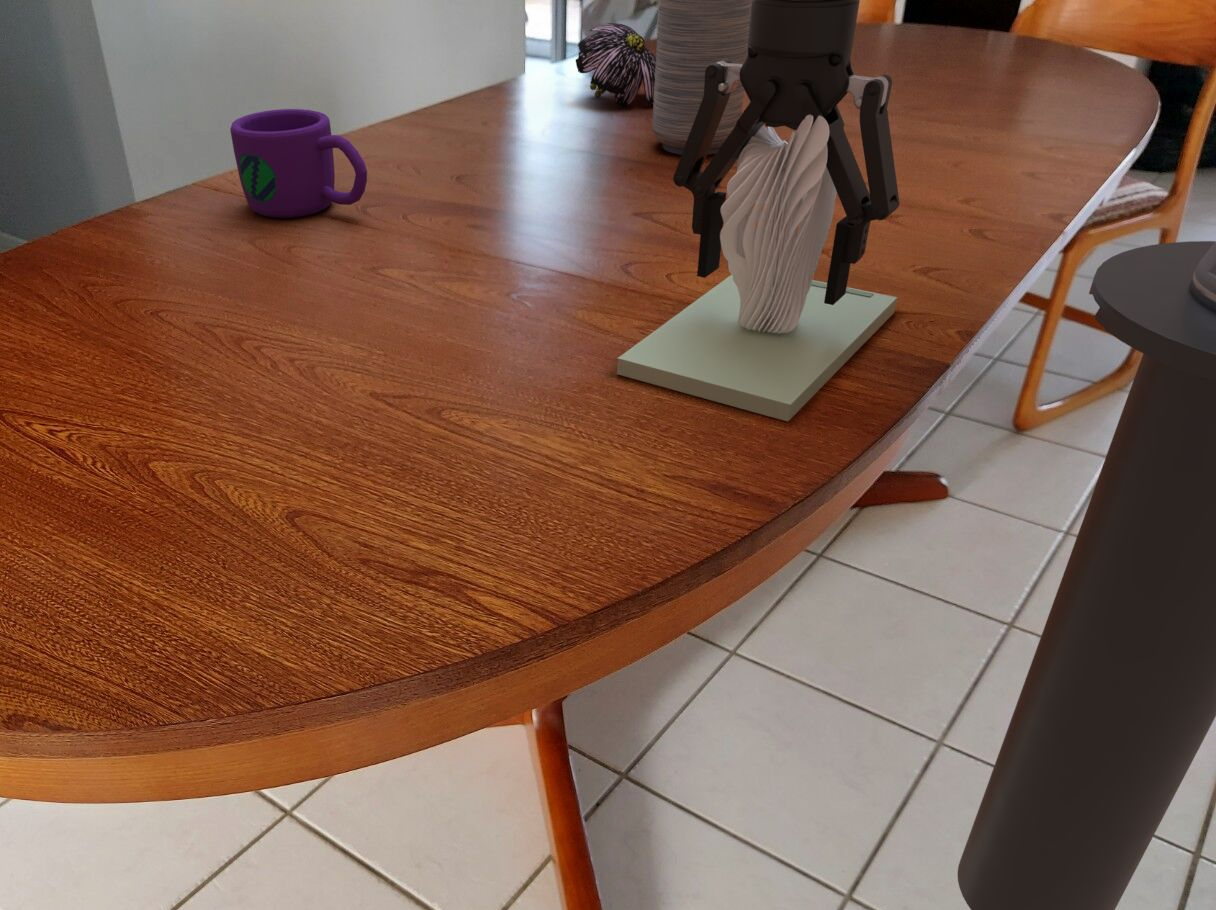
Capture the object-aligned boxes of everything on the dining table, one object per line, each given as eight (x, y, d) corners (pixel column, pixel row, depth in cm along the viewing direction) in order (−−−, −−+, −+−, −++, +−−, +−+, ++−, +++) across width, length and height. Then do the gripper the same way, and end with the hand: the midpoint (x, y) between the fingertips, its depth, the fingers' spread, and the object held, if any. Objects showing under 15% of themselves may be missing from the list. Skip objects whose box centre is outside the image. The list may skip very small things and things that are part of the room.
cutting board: (741, 280, 101) (743, 264, 100) (894, 312, 94) (897, 295, 93) (616, 374, 86) (617, 356, 85) (788, 422, 79) (791, 402, 78)
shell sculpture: (724, 302, 93) (746, 89, 83) (818, 312, 91) (853, 95, 80) (706, 339, 87) (726, 115, 77) (806, 352, 85) (842, 122, 74)
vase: (656, 160, 135) (667, -40, 122) (646, 137, 145) (655, -51, 131) (745, 157, 135) (766, -43, 122) (730, 134, 144) (748, -55, 131)
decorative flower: (617, 46, 148) (576, -1, 157) (585, 122, 156) (547, 73, 164) (696, 64, 155) (653, 18, 164) (662, 136, 163) (622, 89, 171)
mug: (224, 214, 123) (208, 126, 117) (286, 187, 131) (273, 104, 125) (340, 235, 116) (329, 143, 110) (398, 206, 124) (391, 118, 118)
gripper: (989, -8, 71) (922, 297, 84) (685, -25, 82) (668, 246, 95) (956, 9, 66) (891, 331, 79) (638, -12, 77) (627, 272, 90)
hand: (769, 285), depth 87 cm, fingers open, 11 cm apart
